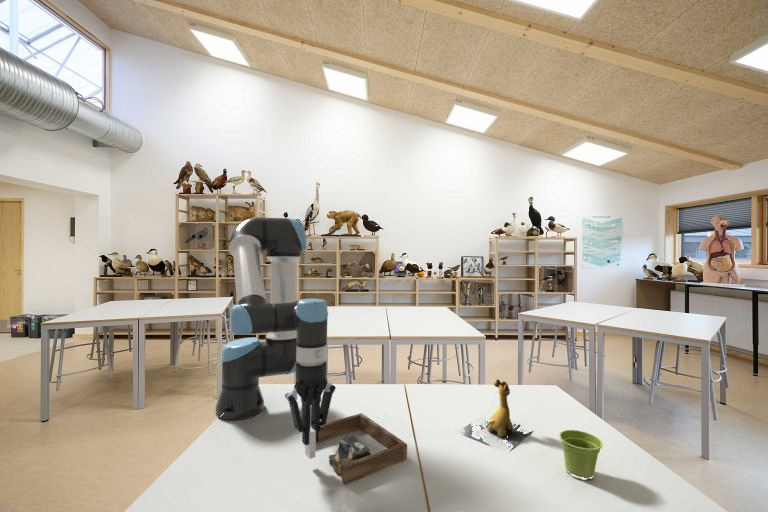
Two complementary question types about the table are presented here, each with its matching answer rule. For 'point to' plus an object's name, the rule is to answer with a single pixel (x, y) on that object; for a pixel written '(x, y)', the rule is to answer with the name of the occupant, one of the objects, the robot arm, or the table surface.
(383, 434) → the box
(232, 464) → the table surface
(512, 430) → the stuffed giraffe
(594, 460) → the plant pot
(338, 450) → the rock
